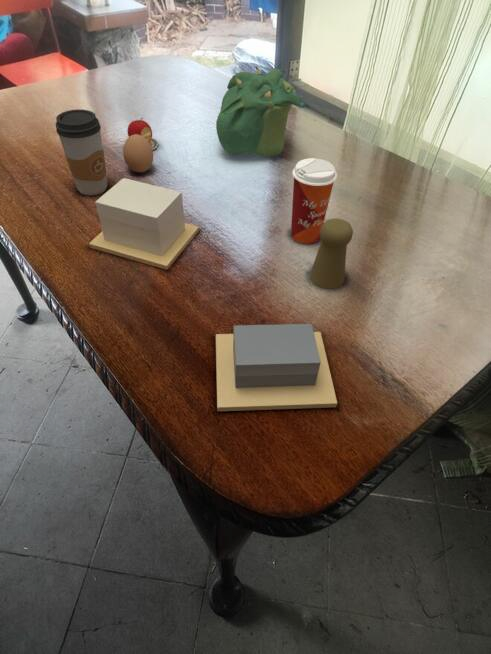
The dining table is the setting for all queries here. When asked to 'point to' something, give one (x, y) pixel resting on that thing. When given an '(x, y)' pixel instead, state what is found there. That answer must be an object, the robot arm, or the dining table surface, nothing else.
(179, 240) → the cream box
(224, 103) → the decorative sculpture
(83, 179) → the coffee cup
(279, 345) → the grey stack
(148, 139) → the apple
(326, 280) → the pepper shaker
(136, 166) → the egg
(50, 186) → the dining table surface
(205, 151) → the dining table surface
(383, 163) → the dining table surface
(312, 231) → the paper cup
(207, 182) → the dining table surface
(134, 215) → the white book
